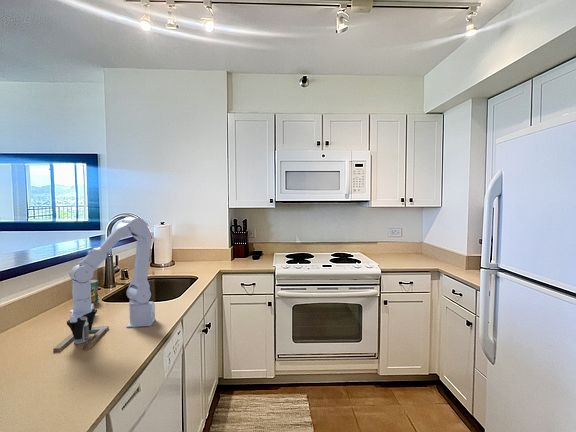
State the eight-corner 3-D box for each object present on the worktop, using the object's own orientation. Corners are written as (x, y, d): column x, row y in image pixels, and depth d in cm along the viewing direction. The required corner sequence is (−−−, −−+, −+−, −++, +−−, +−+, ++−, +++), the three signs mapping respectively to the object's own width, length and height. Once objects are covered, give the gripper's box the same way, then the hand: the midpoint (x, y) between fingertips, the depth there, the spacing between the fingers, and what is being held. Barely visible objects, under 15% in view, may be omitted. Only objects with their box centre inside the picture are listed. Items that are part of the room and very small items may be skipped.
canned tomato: (75, 305, 159) (75, 282, 158) (89, 300, 166) (89, 279, 166) (88, 306, 157) (87, 284, 156) (102, 301, 164) (101, 280, 163)
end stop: (108, 329, 130) (108, 326, 129) (105, 332, 127) (105, 328, 127) (78, 330, 128) (78, 327, 128) (74, 333, 125) (74, 330, 125)
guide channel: (105, 332, 127) (105, 328, 127) (88, 349, 112) (88, 346, 112) (74, 333, 125) (74, 330, 125) (53, 352, 110) (53, 348, 110)
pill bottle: (85, 337, 122) (85, 315, 122) (91, 340, 119) (90, 317, 119) (71, 341, 118) (70, 318, 118) (76, 345, 115) (75, 321, 115)
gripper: (79, 293, 126) (80, 327, 126) (59, 305, 111) (61, 344, 112) (99, 292, 127) (100, 326, 127) (82, 303, 112) (83, 342, 113)
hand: (83, 334), depth 120 cm, fingers open, 7 cm apart
